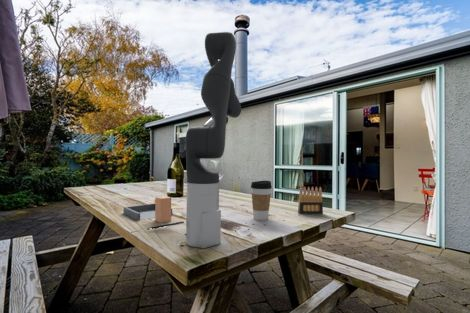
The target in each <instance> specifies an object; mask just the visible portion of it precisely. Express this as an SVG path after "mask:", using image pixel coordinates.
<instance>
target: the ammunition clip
mask: <svg viewBox="0 0 470 313" xmlns="http://www.w3.org/2000/svg"><path fill="white" fill-rule="evenodd" d="M322 191H323V188H322V187H321V186H319V188H318V187H317V186H315V189H314V186H311V189H310V186H307V187H306V186H304V187H302V186H300V187H299V196H298V206H297V208H298V209H297V210H298V211H297V213H298V214H300V215H323V214H324V210H323V209H324V207H323V206H324V203H323V194H322V193H323V192H322ZM305 213H307V214H305Z"/></svg>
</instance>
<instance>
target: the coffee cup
mask: <svg viewBox="0 0 470 313" xmlns="http://www.w3.org/2000/svg"><path fill="white" fill-rule="evenodd" d="M272 187H273V186H272V182H271V180H258V181H251V185H250V189H251V202H252V213H253V214H252V215H253V217H252V218H253V220H256V221H266V220H268V219H269V212H270V203H271V196H272V195H271V191H272Z"/></svg>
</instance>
